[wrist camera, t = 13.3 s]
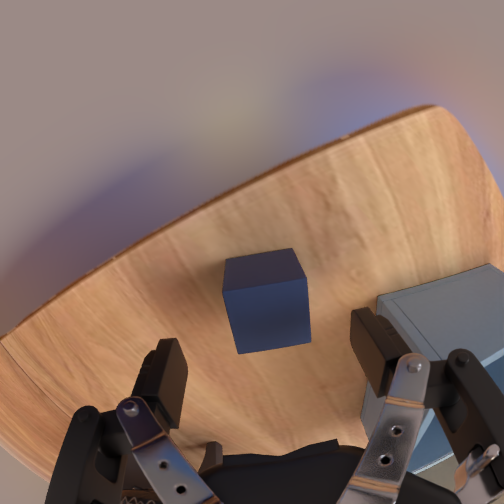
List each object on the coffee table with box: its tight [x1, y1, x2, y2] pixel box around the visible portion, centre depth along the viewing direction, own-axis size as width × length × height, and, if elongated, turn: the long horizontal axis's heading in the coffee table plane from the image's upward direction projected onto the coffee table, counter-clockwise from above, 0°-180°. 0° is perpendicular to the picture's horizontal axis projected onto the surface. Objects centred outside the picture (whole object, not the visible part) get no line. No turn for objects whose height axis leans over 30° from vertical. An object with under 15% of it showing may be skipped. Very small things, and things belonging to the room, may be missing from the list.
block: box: [222, 248, 311, 354], centre depth 15 cm, size 4×4×4 cm
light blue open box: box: [360, 264, 504, 473], centre depth 17 cm, size 16×13×9 cm
